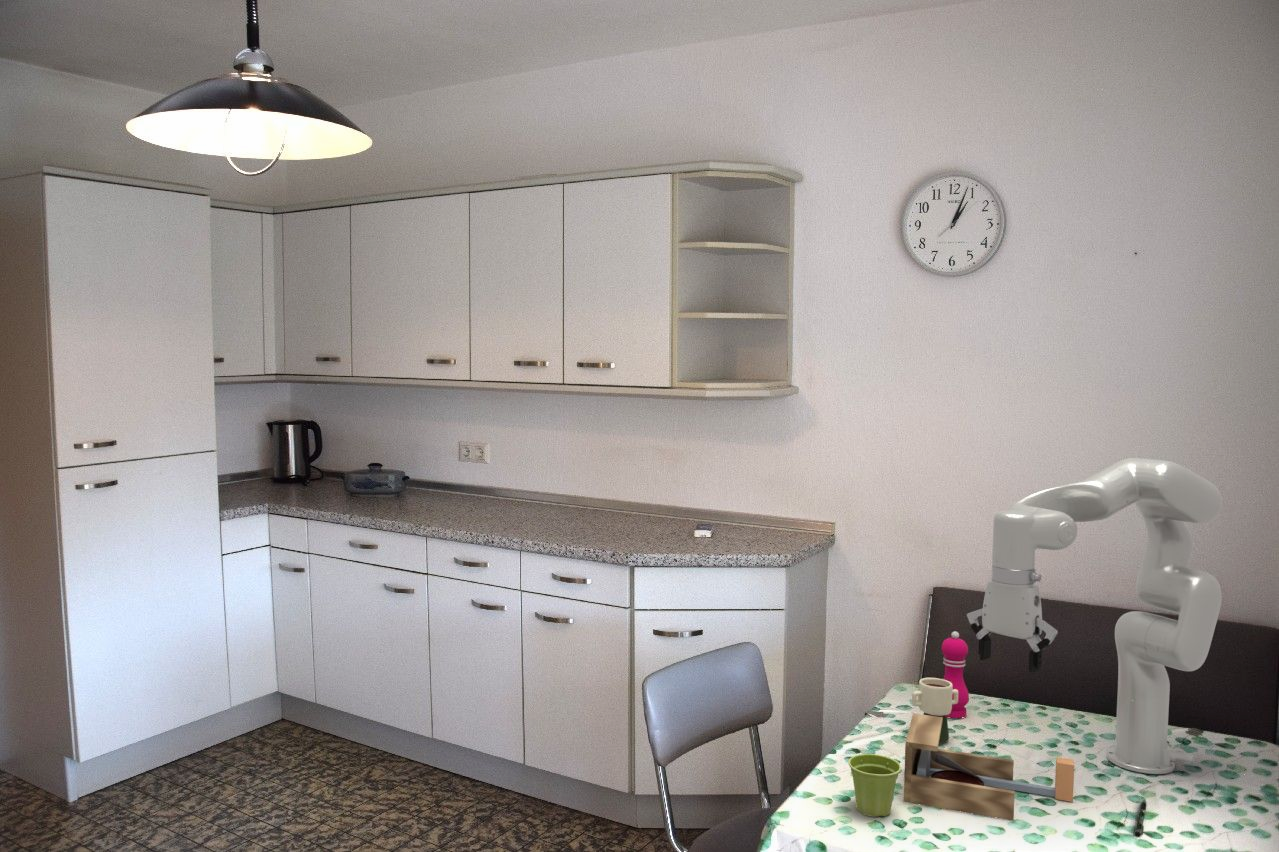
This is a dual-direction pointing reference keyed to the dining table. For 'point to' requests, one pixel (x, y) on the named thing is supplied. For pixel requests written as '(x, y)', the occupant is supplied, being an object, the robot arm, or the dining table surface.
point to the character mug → (936, 701)
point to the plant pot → (874, 783)
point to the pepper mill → (956, 672)
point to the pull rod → (1061, 790)
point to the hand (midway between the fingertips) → (1009, 664)
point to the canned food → (955, 772)
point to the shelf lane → (954, 793)
